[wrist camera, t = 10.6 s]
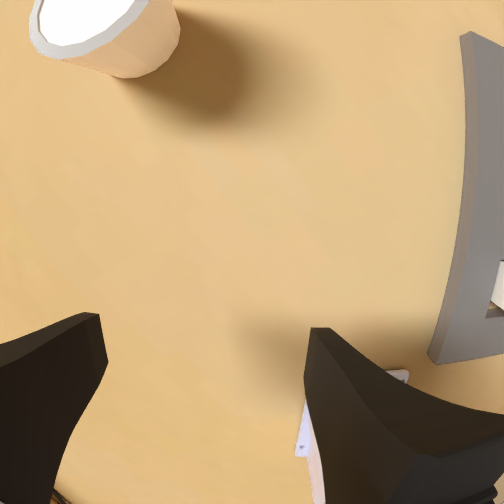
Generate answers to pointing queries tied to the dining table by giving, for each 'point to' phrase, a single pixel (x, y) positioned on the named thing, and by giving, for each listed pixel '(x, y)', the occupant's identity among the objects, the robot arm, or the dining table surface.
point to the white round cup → (106, 33)
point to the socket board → (477, 215)
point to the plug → (499, 287)
